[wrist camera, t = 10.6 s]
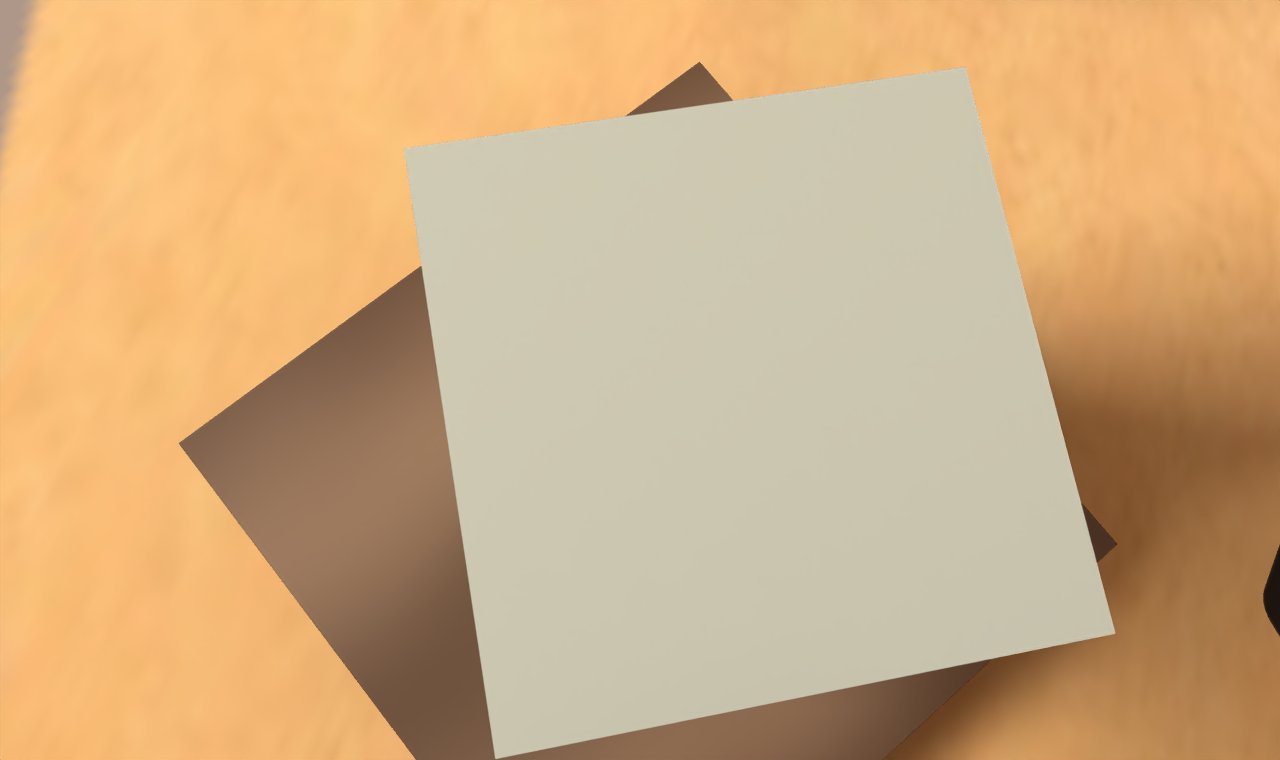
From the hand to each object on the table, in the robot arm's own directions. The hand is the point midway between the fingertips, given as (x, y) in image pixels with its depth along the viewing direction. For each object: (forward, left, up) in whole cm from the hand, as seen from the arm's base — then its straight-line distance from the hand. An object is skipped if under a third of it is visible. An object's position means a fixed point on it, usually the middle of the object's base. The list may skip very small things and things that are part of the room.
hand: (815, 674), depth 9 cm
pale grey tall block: (+2, -1, -9) cm, 9 cm away
